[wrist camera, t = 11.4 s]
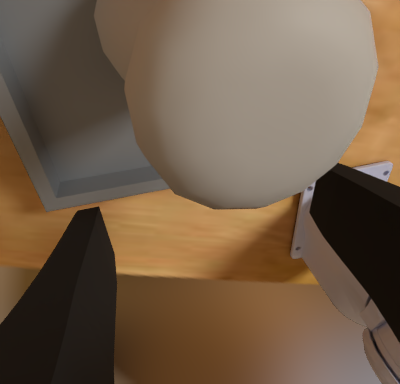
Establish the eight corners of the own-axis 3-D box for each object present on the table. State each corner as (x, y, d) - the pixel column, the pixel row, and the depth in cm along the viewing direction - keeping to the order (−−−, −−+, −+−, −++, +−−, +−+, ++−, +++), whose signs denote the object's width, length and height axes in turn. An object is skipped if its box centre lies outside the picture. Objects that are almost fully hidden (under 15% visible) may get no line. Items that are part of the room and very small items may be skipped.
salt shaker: (76, 38, 14) (-3, 201, 4) (132, -94, 12) (256, -437, 2) (178, 99, 17) (281, 284, 7) (238, 1, 15) (512, 60, 5)
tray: (282, 146, 22) (300, 163, 20) (52, 187, 19) (46, 211, 17) (324, -203, 12) (364, -236, 10) (-121, -209, 10) (-179, -255, 8)
